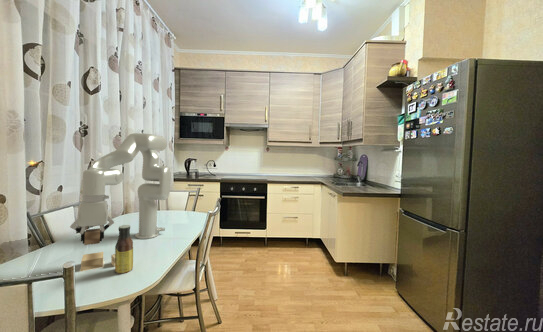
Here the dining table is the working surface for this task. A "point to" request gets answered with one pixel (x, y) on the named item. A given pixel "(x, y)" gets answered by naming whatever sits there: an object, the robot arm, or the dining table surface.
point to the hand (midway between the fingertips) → (92, 241)
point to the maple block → (113, 260)
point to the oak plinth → (92, 261)
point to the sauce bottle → (124, 251)
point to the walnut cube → (92, 236)
